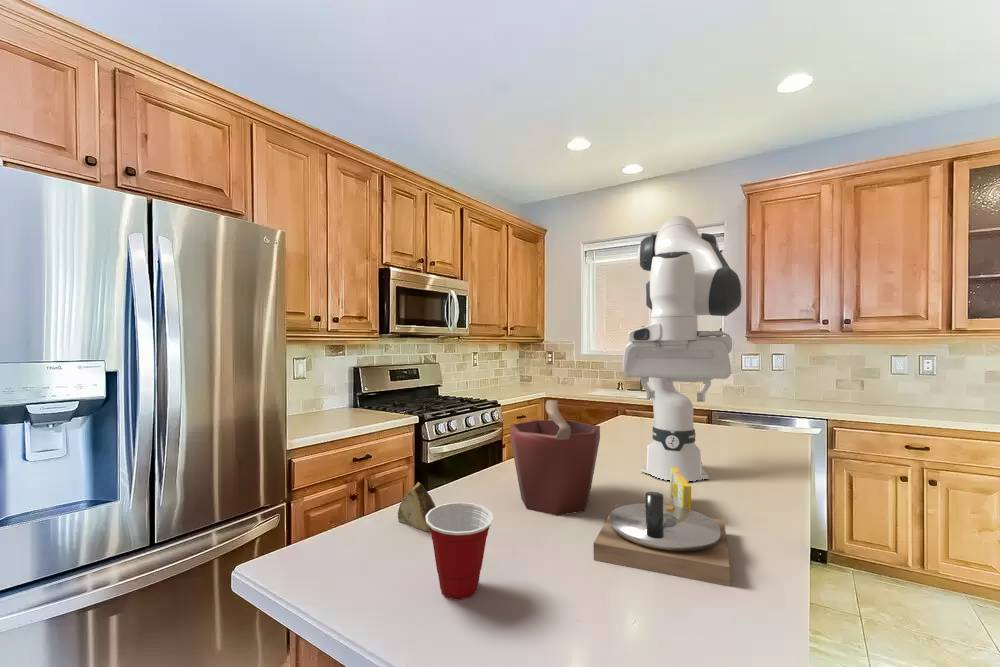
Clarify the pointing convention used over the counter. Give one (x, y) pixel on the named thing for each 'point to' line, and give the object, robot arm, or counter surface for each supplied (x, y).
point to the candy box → (679, 490)
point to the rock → (416, 507)
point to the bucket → (555, 462)
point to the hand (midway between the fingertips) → (675, 400)
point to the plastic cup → (459, 545)
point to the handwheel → (664, 525)
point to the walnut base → (666, 556)
